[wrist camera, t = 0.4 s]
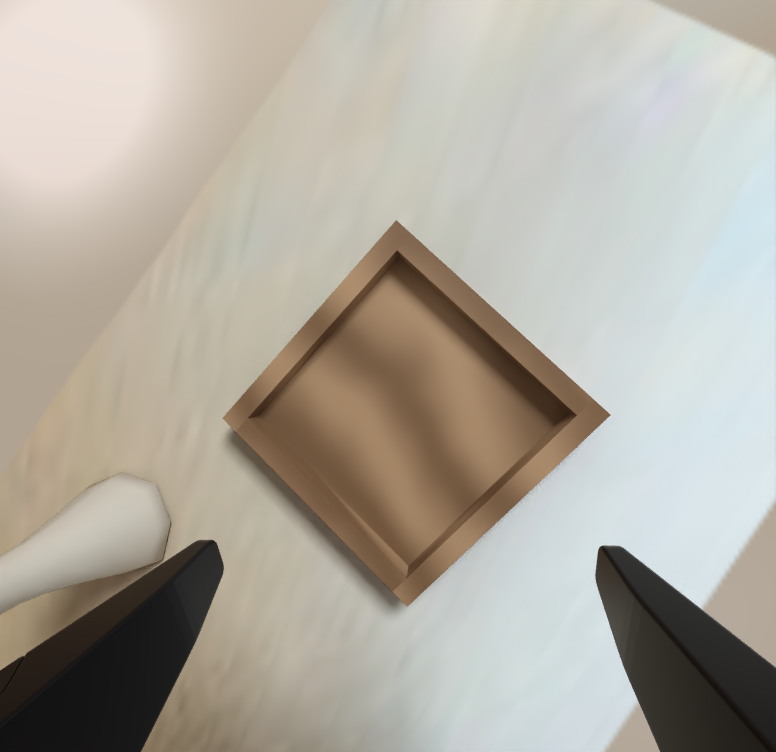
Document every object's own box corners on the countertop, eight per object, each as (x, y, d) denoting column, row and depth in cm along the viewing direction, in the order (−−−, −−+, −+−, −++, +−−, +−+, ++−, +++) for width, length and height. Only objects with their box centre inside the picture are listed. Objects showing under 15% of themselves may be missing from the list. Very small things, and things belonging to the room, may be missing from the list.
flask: (177, 569, 27) (22, 691, 17) (90, 568, 28) (-105, 682, 18) (169, 470, 27) (7, 534, 17) (81, 472, 28) (-120, 534, 18)
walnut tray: (410, 584, 24) (407, 606, 22) (241, 413, 26) (222, 418, 23) (594, 409, 22) (610, 414, 20) (400, 233, 24) (396, 220, 21)
